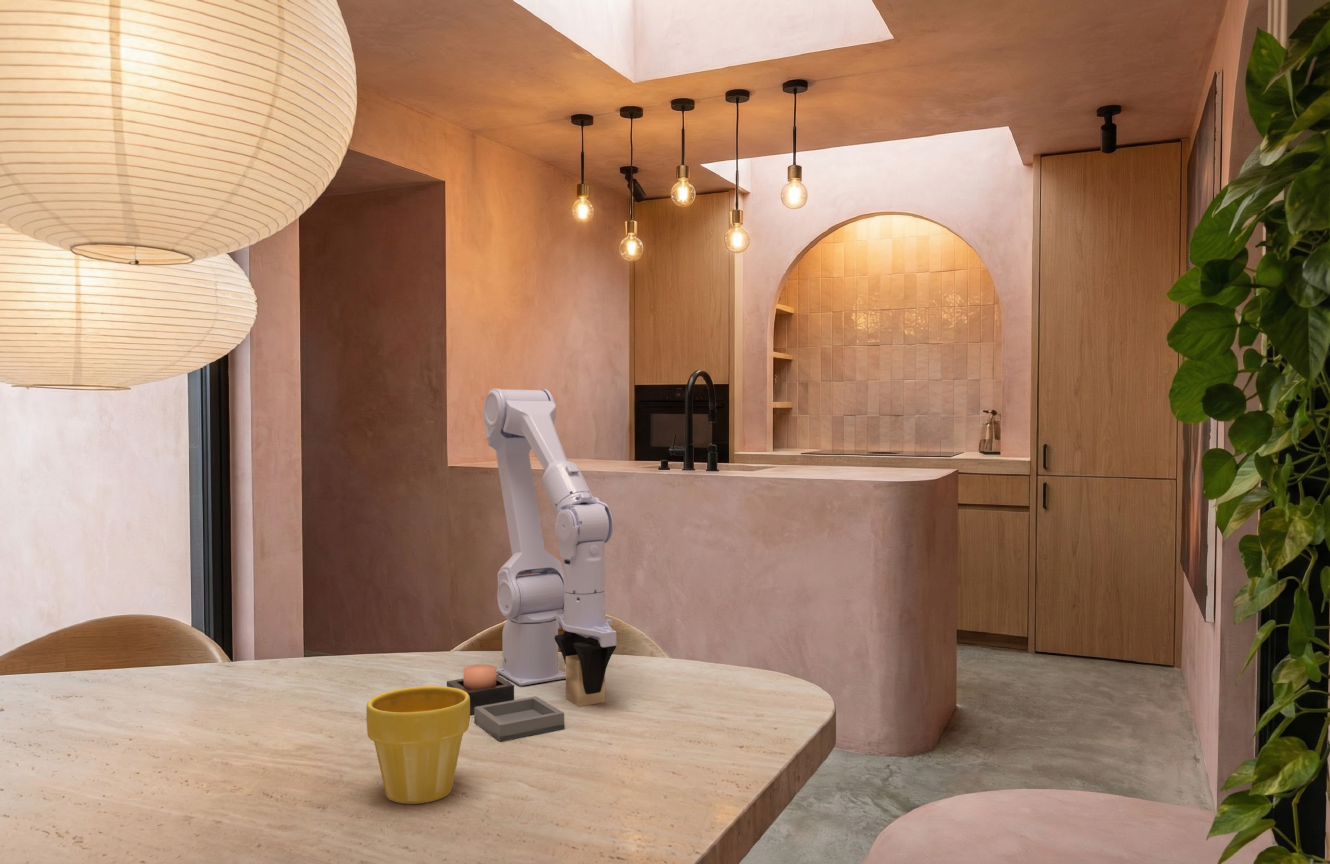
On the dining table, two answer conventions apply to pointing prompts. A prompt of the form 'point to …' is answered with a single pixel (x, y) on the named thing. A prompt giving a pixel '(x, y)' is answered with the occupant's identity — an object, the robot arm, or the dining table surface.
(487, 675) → the button
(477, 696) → the button housing
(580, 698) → the block
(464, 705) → the plant pot
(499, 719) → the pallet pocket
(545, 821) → the dining table surface
